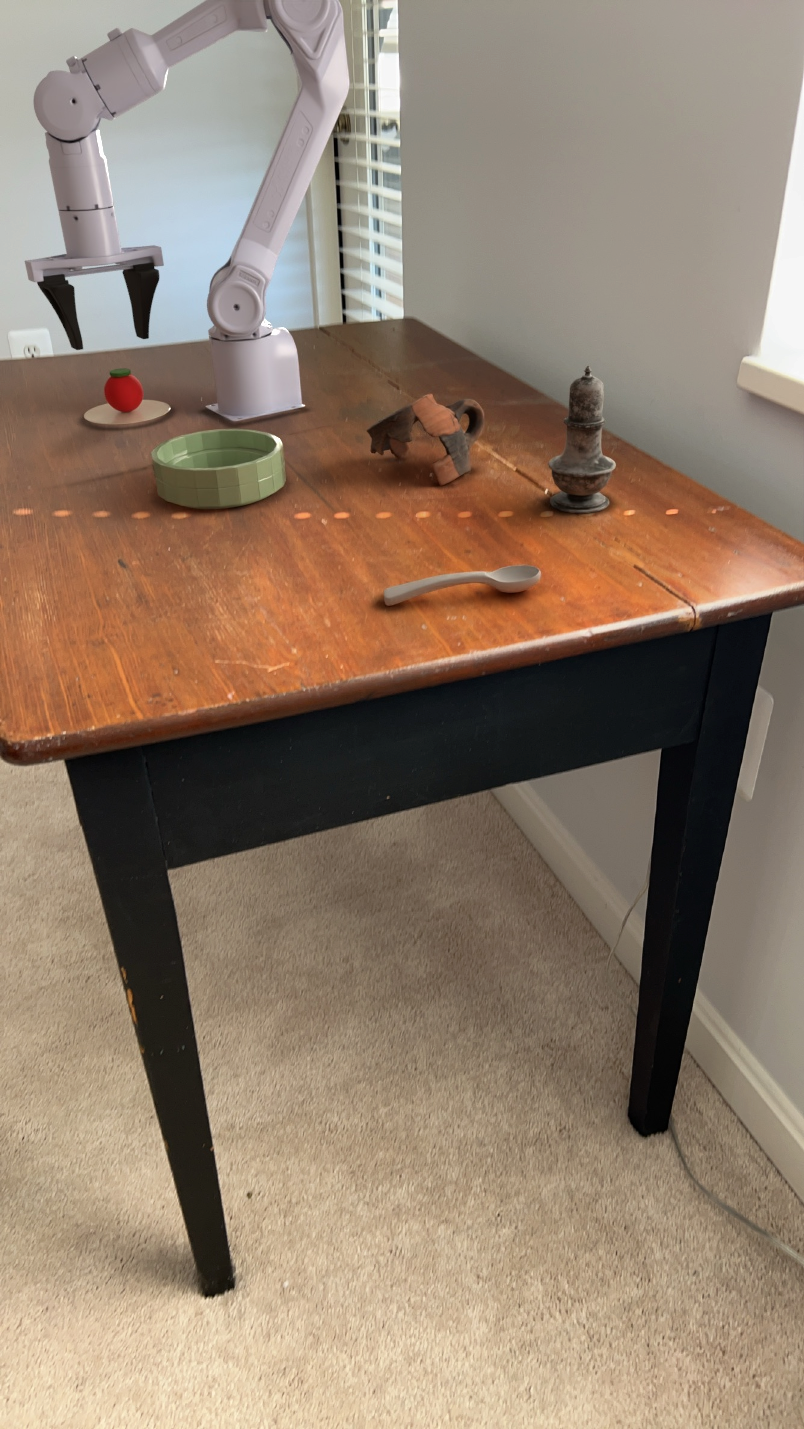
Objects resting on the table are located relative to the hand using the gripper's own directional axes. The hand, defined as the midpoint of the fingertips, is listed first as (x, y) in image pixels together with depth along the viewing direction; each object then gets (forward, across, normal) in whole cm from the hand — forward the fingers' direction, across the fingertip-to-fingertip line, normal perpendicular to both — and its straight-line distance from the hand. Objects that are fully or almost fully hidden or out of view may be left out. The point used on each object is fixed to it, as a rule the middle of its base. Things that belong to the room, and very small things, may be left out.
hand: (110, 342), depth 113 cm
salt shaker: (+9, -23, +53) cm, 58 cm away
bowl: (+9, +1, +28) cm, 30 cm away
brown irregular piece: (+9, -18, +37) cm, 42 cm away
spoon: (+9, -3, +61) cm, 62 cm away
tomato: (+8, -1, -2) cm, 8 cm away
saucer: (+9, -1, -2) cm, 9 cm away
